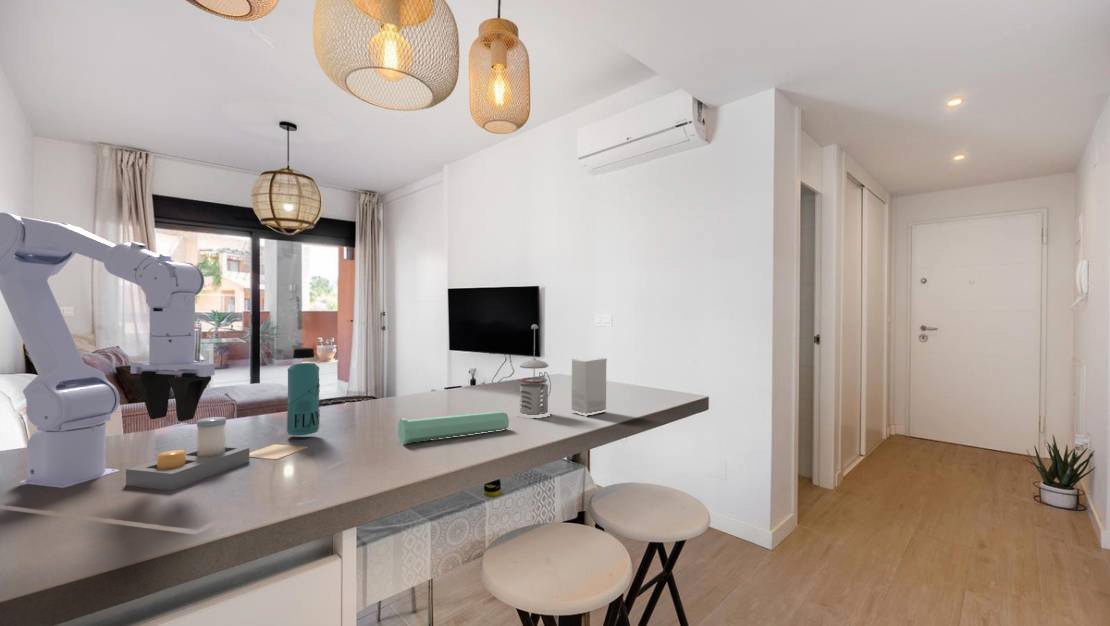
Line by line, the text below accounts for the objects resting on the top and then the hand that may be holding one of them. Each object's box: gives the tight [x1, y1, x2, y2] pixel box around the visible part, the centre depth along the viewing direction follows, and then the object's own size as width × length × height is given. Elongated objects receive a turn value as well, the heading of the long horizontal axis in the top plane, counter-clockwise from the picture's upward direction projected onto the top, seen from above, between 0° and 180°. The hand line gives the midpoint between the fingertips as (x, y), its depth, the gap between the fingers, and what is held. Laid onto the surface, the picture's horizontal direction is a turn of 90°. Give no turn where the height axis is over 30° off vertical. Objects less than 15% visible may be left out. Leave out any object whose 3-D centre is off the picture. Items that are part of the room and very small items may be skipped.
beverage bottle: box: [286, 347, 321, 436], centre depth 102 cm, size 6×7×20 cm
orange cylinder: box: [156, 449, 187, 470], centre depth 76 cm, size 4×4×4 cm
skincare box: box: [571, 356, 607, 414], centre depth 131 cm, size 8×7×16 cm
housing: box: [125, 445, 250, 491], centre depth 79 cm, size 9×14×3 cm, turn 168°
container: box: [397, 410, 510, 446], centre depth 106 cm, size 6×6×25 cm
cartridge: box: [196, 416, 227, 457], centre depth 83 cm, size 4×4×8 cm
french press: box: [519, 323, 552, 415], centre depth 128 cm, size 10×12×25 cm
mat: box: [249, 443, 308, 461], centre depth 91 cm, size 8×8×1 cm
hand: (171, 418), depth 76 cm, fingers open, 5 cm apart
